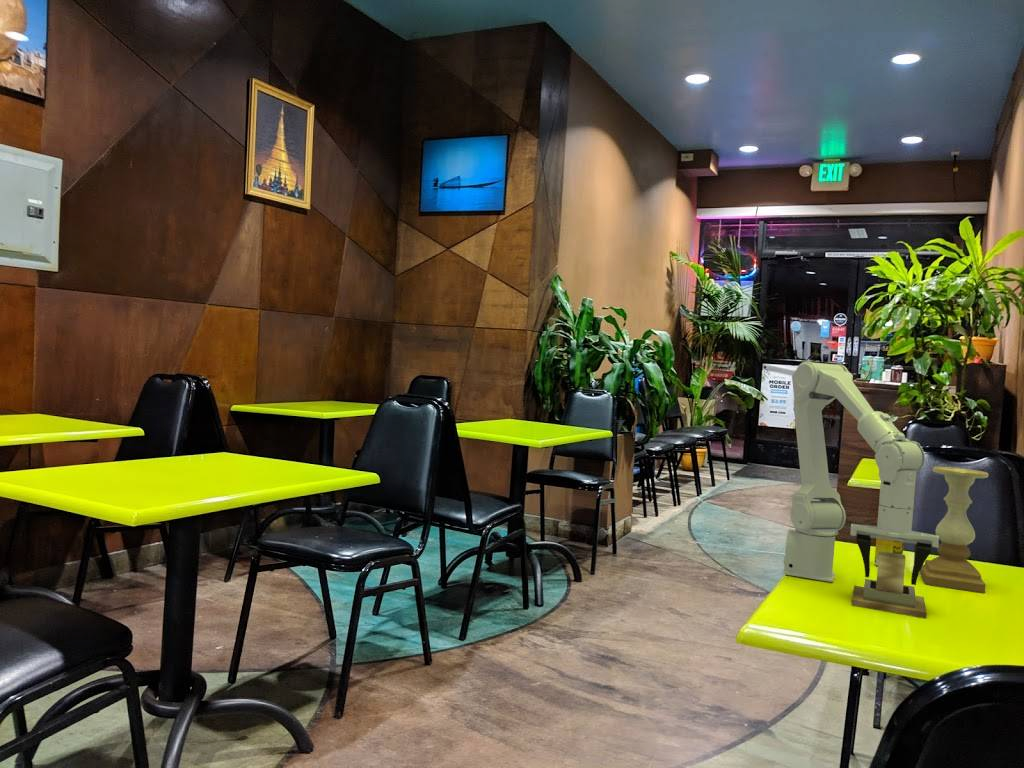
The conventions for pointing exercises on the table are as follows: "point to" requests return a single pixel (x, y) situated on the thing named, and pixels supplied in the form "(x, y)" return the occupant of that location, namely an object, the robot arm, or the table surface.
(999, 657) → the table surface
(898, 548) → the supplement bottle
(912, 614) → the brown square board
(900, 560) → the tan rectangular block
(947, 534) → the candle holder
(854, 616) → the table surface
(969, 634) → the table surface
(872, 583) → the gray square frame
